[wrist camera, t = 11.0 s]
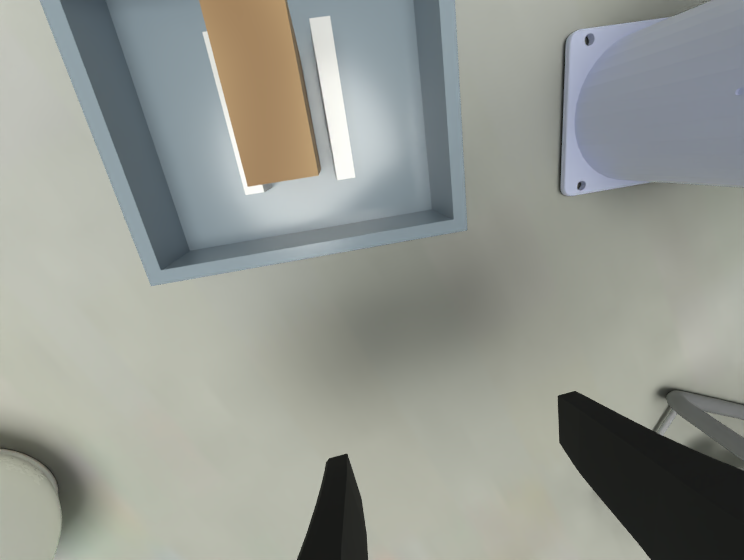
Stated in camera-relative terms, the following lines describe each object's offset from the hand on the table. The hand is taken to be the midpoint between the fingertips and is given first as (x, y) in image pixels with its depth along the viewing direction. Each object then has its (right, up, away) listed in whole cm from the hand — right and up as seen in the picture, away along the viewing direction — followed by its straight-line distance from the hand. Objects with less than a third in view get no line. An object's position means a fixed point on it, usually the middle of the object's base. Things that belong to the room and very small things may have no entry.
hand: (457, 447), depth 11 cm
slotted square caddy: (-7, +13, +6) cm, 16 cm away
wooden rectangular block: (-7, +13, +5) cm, 16 cm away
